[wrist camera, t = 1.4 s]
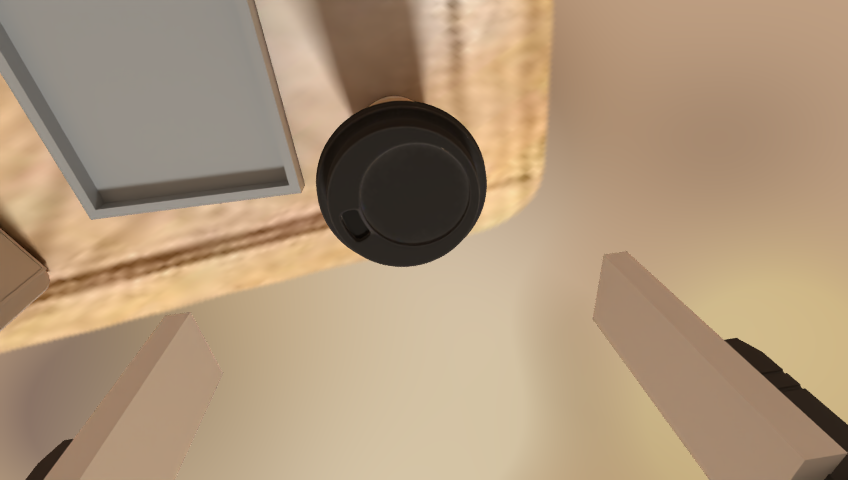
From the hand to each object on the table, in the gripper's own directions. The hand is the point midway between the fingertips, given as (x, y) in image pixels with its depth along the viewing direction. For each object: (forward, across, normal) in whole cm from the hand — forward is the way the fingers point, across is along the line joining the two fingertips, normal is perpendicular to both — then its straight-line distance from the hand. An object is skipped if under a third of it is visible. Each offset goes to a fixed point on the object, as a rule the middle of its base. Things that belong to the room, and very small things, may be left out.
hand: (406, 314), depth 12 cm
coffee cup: (+23, 0, 0) cm, 23 cm away
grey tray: (+23, -17, +5) cm, 29 cm away
